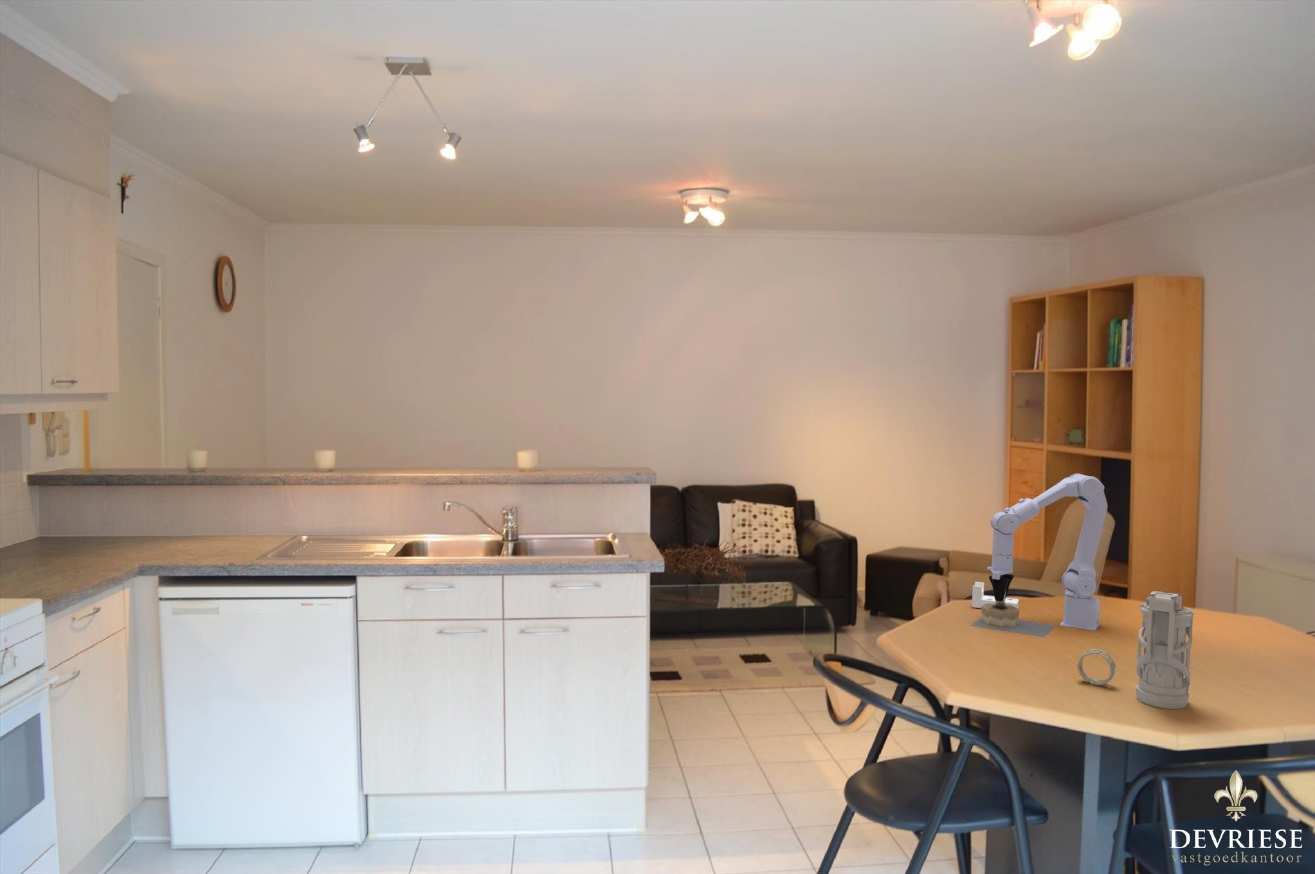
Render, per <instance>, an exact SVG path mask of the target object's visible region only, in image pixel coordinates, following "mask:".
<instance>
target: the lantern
mask: <svg viewBox="0 0 1315 874" xmlns="http://www.w3.org/2000/svg"><path fill="white" fill-rule="evenodd" d="M1149 594H1150V596H1147V597H1146V600H1145V602H1142V603H1141V604H1140V605H1139V611H1140V612H1141V613H1142V623H1141V627H1140V629H1139V630H1138V639H1137V641H1138V642H1137V655H1136V658H1137V659H1136V673H1137V675H1138V677H1139V680H1138V684H1136V686H1135V695H1136V699H1137V700H1138V701H1139V702H1140V703H1143V704H1145V705H1147V706H1151V707H1156V708H1161V709H1167V710H1180V709H1184V708H1186V707H1187V705H1188V703H1189V696H1190V694H1189V687H1190V683H1191V671H1190V665H1191V664H1190V663H1191V648H1192V644H1193V624H1194V623H1193V620H1194V614H1195V611H1194V610H1193V609H1191V608H1190V607H1186V606H1184V605H1183V606H1182V603H1183V602H1182V601H1183V595H1182V594H1179V593H1173V592H1172V593H1171V592H1169V593H1168V592H1163V591H1157V590H1155V591H1151V592H1150V593H1149ZM1143 636H1144V638H1143ZM1186 637H1188V640H1187V639H1186ZM1186 640H1187V641H1186ZM1142 647H1143V654H1142Z"/></svg>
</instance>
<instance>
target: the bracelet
mask: <svg viewBox="0 0 1315 874" xmlns="http://www.w3.org/2000/svg"><path fill="white" fill-rule="evenodd" d="M1089 655H1097V656H1100V657H1102V658H1103V659H1104V660H1105V661H1106V662H1107V664H1108V666H1109V676H1108V677H1106V678H1105V679H1096V678H1093V677H1090V675H1088V674H1086V672H1085V671H1084V668H1083V660H1084V658H1085V657H1087V656H1089ZM1076 667H1077V671H1078V673H1079V676H1080V677H1081V678H1082V679H1083V680H1084V681H1085V682H1087V683H1089V684H1091V685H1094V686H1104V685H1106V684H1107V683H1109V682H1110V681H1112V679H1113V678H1114V676H1115V672H1116V667H1117V666H1116V663H1115V660H1114V659H1113V657H1112V656H1111V655H1110V654H1109V652H1106V651H1105V650H1102V649H1099V648H1090V649H1087V650H1086V651H1084V652H1083V653H1082V655H1080V657H1079V659H1078V662H1077V663H1076Z"/></svg>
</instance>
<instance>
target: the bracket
mask: <svg viewBox="0 0 1315 874" xmlns="http://www.w3.org/2000/svg"><path fill="white" fill-rule="evenodd" d="M984 593H985V582H981V581H975V582H974V585H972V597H971V608H977V609H981V607H982V605H984V604H989V603H996V601H995V597H994V595H985V594H984ZM1019 602H1020V601H1019V599H1018V598H1012V597H1006V599H1005V604H1006V605H1012V606H1014V607H1017V608H1019Z"/></svg>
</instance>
